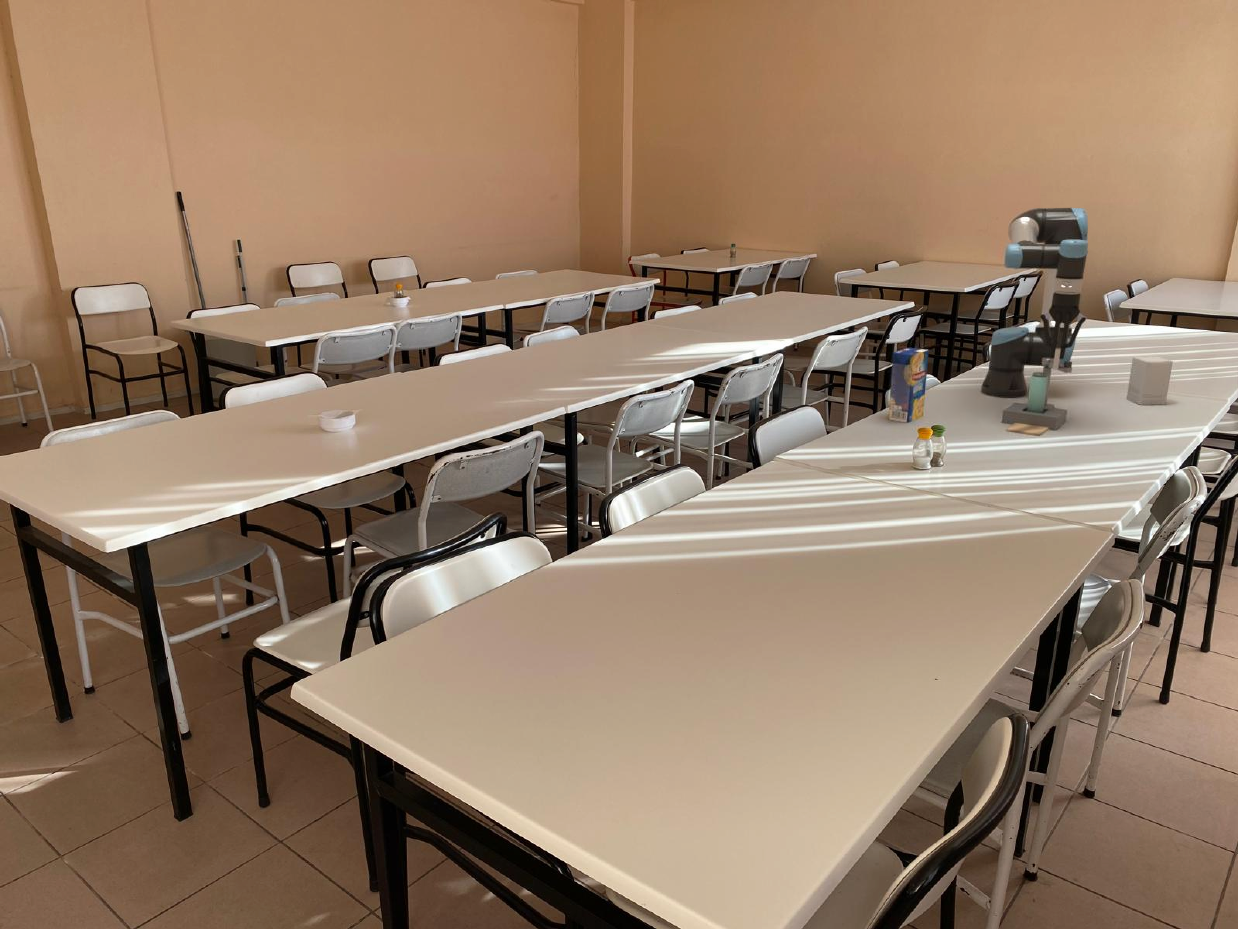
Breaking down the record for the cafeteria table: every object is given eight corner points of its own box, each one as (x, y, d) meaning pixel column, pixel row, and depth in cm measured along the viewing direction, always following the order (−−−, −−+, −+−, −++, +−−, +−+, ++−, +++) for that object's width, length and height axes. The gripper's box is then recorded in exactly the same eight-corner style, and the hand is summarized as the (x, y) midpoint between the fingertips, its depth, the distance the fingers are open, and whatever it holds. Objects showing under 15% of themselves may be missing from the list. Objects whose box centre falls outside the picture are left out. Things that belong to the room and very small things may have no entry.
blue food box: (923, 415, 293) (928, 349, 286) (907, 422, 285) (913, 355, 279) (903, 412, 298) (908, 347, 291) (888, 419, 290) (893, 352, 283)
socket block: (1001, 422, 283) (1007, 372, 278) (1017, 411, 295) (1023, 363, 290) (1055, 430, 273) (1062, 378, 268) (1069, 418, 285) (1076, 369, 280)
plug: (1023, 422, 282) (1029, 373, 277) (1027, 419, 286) (1033, 371, 281) (1039, 425, 279) (1045, 375, 274) (1043, 421, 283) (1050, 373, 278)
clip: (1039, 365, 285) (1040, 355, 284) (1049, 364, 286) (1050, 354, 285) (1063, 373, 273) (1065, 362, 272) (1074, 372, 274) (1075, 362, 273)
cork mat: (1005, 430, 274) (1005, 429, 274) (1015, 423, 281) (1015, 421, 281) (1040, 436, 268) (1040, 434, 268) (1049, 428, 275) (1049, 426, 275)
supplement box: (1166, 404, 299) (1174, 361, 295) (1139, 405, 299) (1146, 361, 295) (1151, 398, 308) (1158, 355, 303) (1125, 399, 308) (1132, 356, 304)
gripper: (1041, 292, 269) (1031, 368, 277) (1089, 295, 262) (1076, 373, 270) (1045, 289, 275) (1035, 364, 283) (1092, 292, 268) (1080, 369, 276)
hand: (1055, 368), depth 276 cm, fingers closed
